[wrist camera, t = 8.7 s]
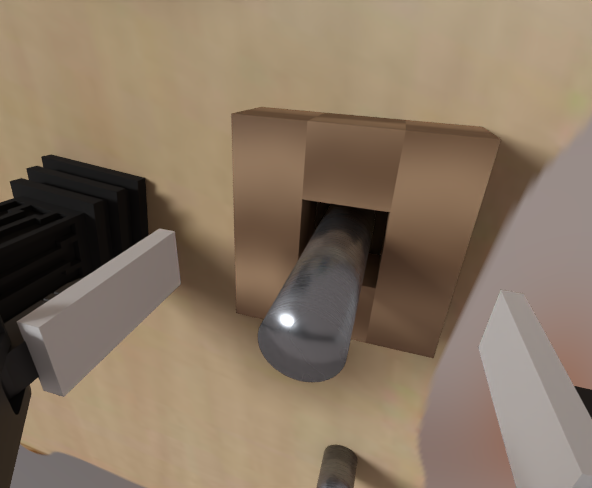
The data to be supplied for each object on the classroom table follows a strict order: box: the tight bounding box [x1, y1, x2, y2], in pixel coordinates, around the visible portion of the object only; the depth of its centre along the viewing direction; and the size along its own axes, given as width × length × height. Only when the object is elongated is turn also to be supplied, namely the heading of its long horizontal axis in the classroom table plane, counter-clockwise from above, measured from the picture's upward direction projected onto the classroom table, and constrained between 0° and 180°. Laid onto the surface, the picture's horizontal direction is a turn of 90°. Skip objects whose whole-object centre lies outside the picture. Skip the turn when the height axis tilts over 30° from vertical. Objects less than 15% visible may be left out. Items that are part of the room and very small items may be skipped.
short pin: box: [317, 445, 357, 488], centre depth 30 cm, size 3×3×5 cm
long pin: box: [258, 204, 376, 382], centre depth 17 cm, size 3×3×12 cm
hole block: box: [231, 107, 501, 358], centre depth 20 cm, size 12×12×4 cm
